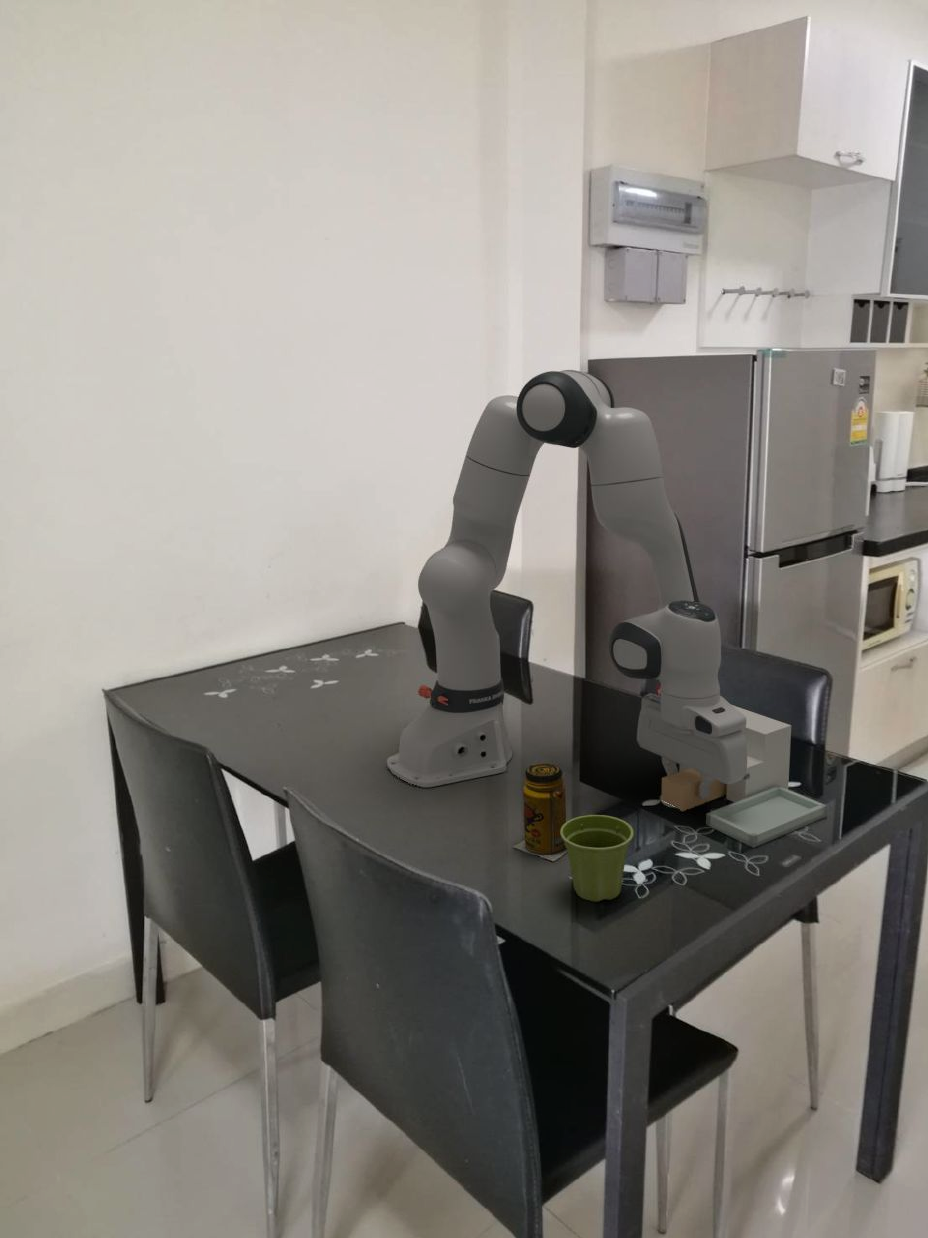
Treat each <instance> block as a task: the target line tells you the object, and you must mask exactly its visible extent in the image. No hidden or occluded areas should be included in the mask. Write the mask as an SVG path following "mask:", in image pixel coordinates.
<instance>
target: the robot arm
mask: <svg viewBox="0 0 928 1238" xmlns="http://www.w3.org/2000/svg"><path fill="white" fill-rule="evenodd" d="M601 378H602V377H599V376H598V375H596V374H594V373H590V372H584V371H579V370H574V369H565V370H560V371H556V370H551V371H546V372H542V373H540V374H537V375H535V376H534V377H532V378H531V379H529V380H528V381H527V382H526V384H524V386H523V387H522V388H521V390H520V392H519V394H518V396H516V395H509V394H507V395H500V396H497V397H494V398H493V399H491V400H489V402H488V403H487V404H486V406H485V408H484V410H483V412H482V413H481V416H480V418H479V420H478V422H477V423H476V426H475V428H474V431H473V433H472V435H471V438H470V441H469V444H468V447H467V450H466V453H465V457H464V460H463V464H462V468H461V470H460V474H459V477H458V481H457V483H456V487H455V490H454V495H453V497H452V505H453V510H452V511H453V513H452V522H451V530H450V534H449V537H448V540H447V542H446V543H445V545H444V547H442V548H440V549H439V550H437V551H435V552H434V553H433V554H432V555H431V556H430V557H429V558H428V559H427V560H426V562H425V564H424V565H423V567H422V568H421V571H420V573H419V576H418V581H417V588H418V589H417V590H418V593H419V595H420V598H421V600H422V602H423V603H424V605H426V608H427V612H428V614H429V618H430V623H431V626H432V631H433V635H434V642H435V652H436V653H435V656H436V657H435V658H436V672H437V674H436V675H437V679H436V681H435V684H434V686H433V689H432V688H431V687H428V685H425V684H423V685H420V686H419V687H418V689H417V690H418V691H417V694H418V695H419V697H422V698H423V699H429V704H428V705H427V706H426V707H425V708H424V709H423V710H422V711H421V712H420V714H418V715H417V716H416V717H415V719H413V720H412V721H411V723H409V724H408V725H407V726H406V727H405V728H404V729H403V731H402V732H401V734H400V739H399V747H398V753H396V754H393V755H391V756H389V757H387V759H386V768H387V767H388V768H389V769H390V770H391V771H392V772H393V773H394V774H395V775H397V776H398V777H400V778H401V779H403V780H404V781H406V782H408V783H407V784H409V783H411V784H410V785H412V784H414V785H413V786H415V785H417V786H416V787H419V786H420V787H419V788H427V789H428V788H433V787H438V786H442V785H448V784H452V783H458V782H462V781H467V780H472V779H476V778H481V777H487V776H491V775H496V774H497V775H498V774H501V773H505V772H506V771H507V767H508V766H507V763H509V761H510V760H511V759H512V758H513V751H512V748H511V746H510V745H511V744H510V742H509V738H508V734H507V729H506V723H505V717H504V709H503V705H504V699H505V689H504V679H503V678H502V677H501V675H502V674H501V647H500V643H501V642H500V634H499V633H498V631H497V630H496V626H495V624H494V619H493V615H492V611H491V594H492V592H493V591H495V589H497V588H498V587H499V585H500V584H501V583H502V581H503V579H504V576H505V574H506V571H507V567H508V566H507V565H508V562H509V561H508V560H509V557H510V552H511V549H512V544H513V538H514V533H515V532H514V531H515V527H516V522H517V519H518V514H519V512H520V509H521V505H522V502H523V498H524V495H525V493H526V489H527V487H528V485H529V484H528V483H529V481H530V478H531V475H532V471H533V468H534V467H533V466H534V464H535V462H536V458H537V455H538V453H539V451H540V450H541V448H542V446H543V445H544V444H548V445H552V446H553V445H554V446H560V447H564V448H565V447H566V448H571V449H576V448H580V449H581V450H582V451H583V453H584V454H585V456H586V459H587V464H588V470H589V476H590V479H589V480H590V485H591V486H590V488H591V496H592V499H591V500H592V503H593V504H592V506H593V509H594V512H595V516H596V518H597V521H598V522H599V524H600V525H601V527H603V528H604V529H605V530H606V531H607V532H609V534H611V535H613V536H615V537H617V538H619V539H622V540H624V541H628V542H631V543H633V544H635V545H637V546H639V547H640V548H641V549H643V550H644V551H645V552H646V554H647V556H648V557H649V559H650V563H651V567H652V570H653V574H654V575H653V576H654V579H655V585H656V589H657V593H658V597H659V605H658V608H657V610H656V611H653V612H650V613H649V612H648V613H646V614H641V615H637V616H634V617H631V618H628V619H625V620H623V621H621V622H619V623H618V624H616V625H615V626H614V627H613V629H612V630H611V633H610V636H609V641H608V652H609V656H610V659H611V662H612V663H613V665H614V667H615V668H616V670H618V672H620V673H621V674H622V675H623V676H626V677H627V678H630V679H638V680H639V679H640V680H653V679H655V680H658V681H659V683H660V682H661V697H660V696H657V695H656V693H652V692H649V693H648V694H646V695H644V696H643V698H642V699H641V700H640V701H641V707H640V708H641V709H640V712H639V714H638V715H639V716H638V721H637V722H638V723H637V730H636V731H637V732H636V741H637V744H638V745H639V747H640V748H641V749H644V750H646V751H649V752H651V753H653V754H655V755H658V756H660V757H661V762H662V765H663V768H664V770H665V773H666V774H667V775H666V776H669V775H672V774H674V773H677V772H679V769H678V767H677V764H678V765H679V764H681V765H683V766H685V767H688V768H690V769H692V770H695V771H697V772H699V773H700V778H701V779H703V781H702V783H701V784H700V785H697V786H695V791H696V792H695V795H696V796H698V797H700V798H702V799H705V798H708V797H709V795H710V786H711V785H712V784H713V782H714V781H715V780H718V781H720V782H722V783H725V784H732V783H735V782H737V781H740V780H741V779H743V778H744V776H745V775H746V772H747V742H746V738H745V735H744V734H743V732H742V731H741V729H743V728H745V727H746V717H745V716H744V715H743V714H742V713H741V712H740V711H738V710H737V709H736V708H734V707H733V706H734V705H733V704H731V703H729V702H728V701H727V700H726V698H724V696H722V695H721V687H720V682H719V678H718V676H719V675H718V674H719V670H720V668H721V663H722V643H721V642H722V640H721V639H722V636H721V627H720V622H719V618H718V616H717V613H716V611H715V610H714V609H713V608H711V607H710V606H708V605H707V604H705V603H701V601H700V598H699V596H698V591H697V587H696V582H695V578H694V574H693V570H692V569H693V568H692V564H691V559H690V555H689V549H688V546H687V542H686V537H685V533H684V530H683V528H682V524H681V521H680V519H679V517H678V516H677V515H676V513H675V512H674V511H673V509H672V507H671V505H670V502H669V499H668V496H667V492H666V488H665V482H664V481H665V480H664V473H663V472H664V471H663V464H662V459H661V453H660V449H659V443H658V440H657V437H656V436H657V435H656V432H655V429H654V426H653V424H652V423H653V422H652V421H651V419H650V417H649V416H648V415H647V414H646V413H645V412H644V411H642V410H639V409H637V408H633V407H624V406H623V407H615V405H616V404H615V398H614V394H613V392H612V390H611V388H610V386H609V385H608V384H607V382H605V381H604V380H603V379H601ZM732 705H733V706H732ZM388 768H387V769H388ZM404 781H403V782H404ZM406 782H405V783H406Z"/></svg>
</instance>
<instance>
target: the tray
mask: <svg viewBox="0 0 928 1238" xmlns="http://www.w3.org/2000/svg"><path fill="white" fill-rule="evenodd" d="M827 809H828V805H826V804H824V803H821V802H820V801H818V800H817V801H816V800H814V799H812V798H809V797H807V796H805V795H803V794H800V793H798V792H795V791H792V790H790V789H789V788H788V789H785V788H783V787H781V786H776V787H774V788H771V789H769V790H766V791H763V792H761V793H758V794H756V795H753V796H751V797H748V798H745V799H743V800H740V801H738V802H732V803H731V804H728V805H725V806H723V807H720V808H717V809H715V810H712V811H710V812H707V813H706V815H705V825H706V826H708V827H710V828H712V829H713V830H716V831H718V832H720V833H722V834H724V835H726V836H728V837H730V838H732V839H734V840H736V841H739V842H741V843H743V844H744V845H746V846H748V847H751V848H753V849H754V848H756V847H758V846H761V845H764V844H766V843H768V842H771V841H773V840H775V839H778V838H779V837H783V836H785V835H786V834H787V835H788V834H789V833H791V832H794V831H797V830H798V829H801V828H803V827H805V826H807V825H810V824H813V823H814V822H818V821H819V820H822V819H824V818H826V817H827V811H828V810H827Z"/></svg>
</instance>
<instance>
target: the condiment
mask: <svg viewBox="0 0 928 1238" xmlns="http://www.w3.org/2000/svg"><path fill="white" fill-rule="evenodd" d="M524 775H525V779H524V783H525V785H524V786H523V788H522V790H523V793H522V797H523V817H524V818H523V824H524V825H523V827H524V828H523V829H524V831H523V833H524V839H523V840H522V841H520V842H521V843H520V842H519V843H520V844H522V845H523V846H521V847H519V846H520V844H519V843H517V844H516V845H514V846H513V848H514V849H517V850H519V851H522V852H524V853H527V854H530V855H533V856H535V855H537V856H536V857H538V855H542V856H540V857H539V858H542V859H547V860H548V861H552V862H555V861H557V860H558V859H560V858H562V856H565V854H568V851H567V848H566V846H565V843H564V840H563V839H562V837H561V834H560V830H561V828H562V826H563V825H564V824H565V823H566V822H567V808H566V805H567V804H566V803H567V801H566V800H567V799H566V796H567V795H566V787H565V785H564V779H563V771H562V768H561V767H560V766H558V765H556V764H554V763H549V762H548V763H547V762H542V763H541V762H540V763H535V764H531V765H530V766H528V767H527V768H526V770H525V774H524ZM522 842H523V843H522ZM524 845H525V846H524ZM544 855H551V856H549V857H548V856H544Z"/></svg>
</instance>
